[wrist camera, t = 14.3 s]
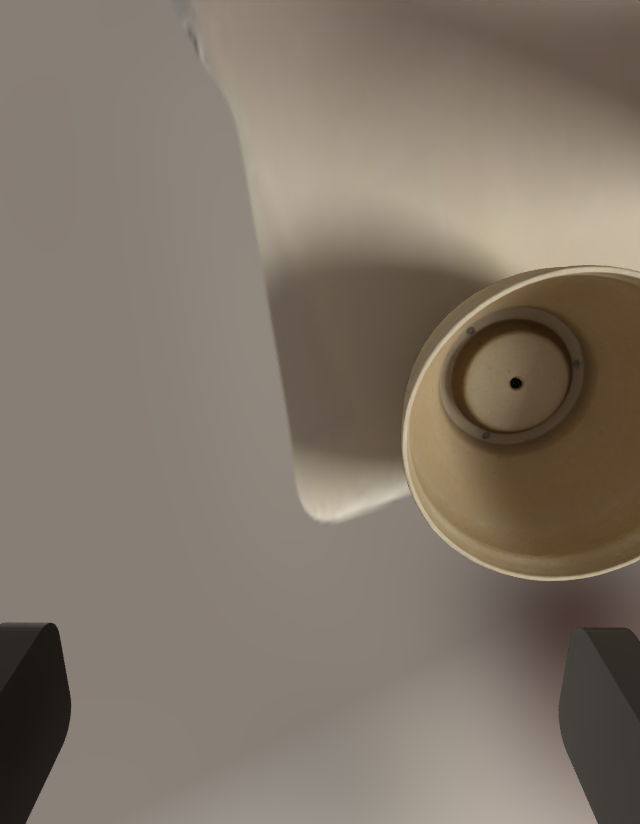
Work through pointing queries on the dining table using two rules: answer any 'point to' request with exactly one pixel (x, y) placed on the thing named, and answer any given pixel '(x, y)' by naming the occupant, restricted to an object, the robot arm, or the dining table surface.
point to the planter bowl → (532, 424)
